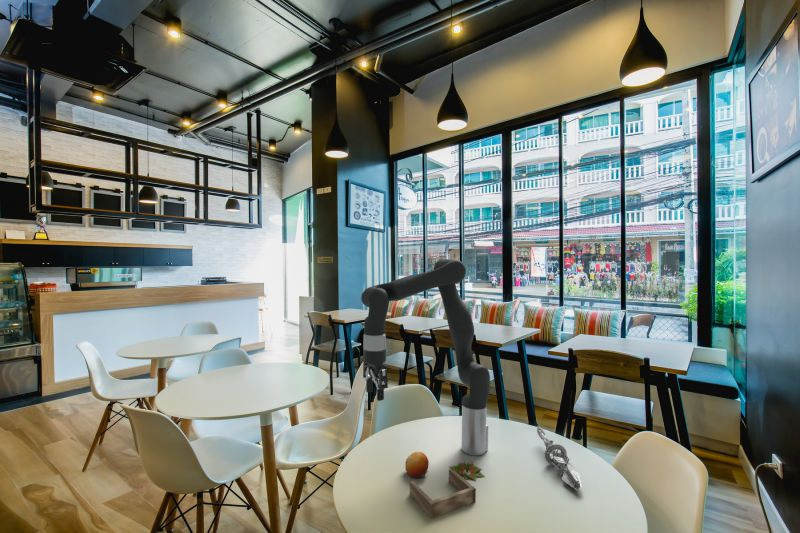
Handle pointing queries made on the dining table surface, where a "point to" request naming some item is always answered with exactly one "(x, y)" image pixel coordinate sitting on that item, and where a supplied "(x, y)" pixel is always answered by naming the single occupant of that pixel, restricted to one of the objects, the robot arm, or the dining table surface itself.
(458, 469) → the lily flower
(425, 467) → the fruit
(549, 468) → the dining table surface
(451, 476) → the brown wooden u-shaped frame
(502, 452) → the dining table surface
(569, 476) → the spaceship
